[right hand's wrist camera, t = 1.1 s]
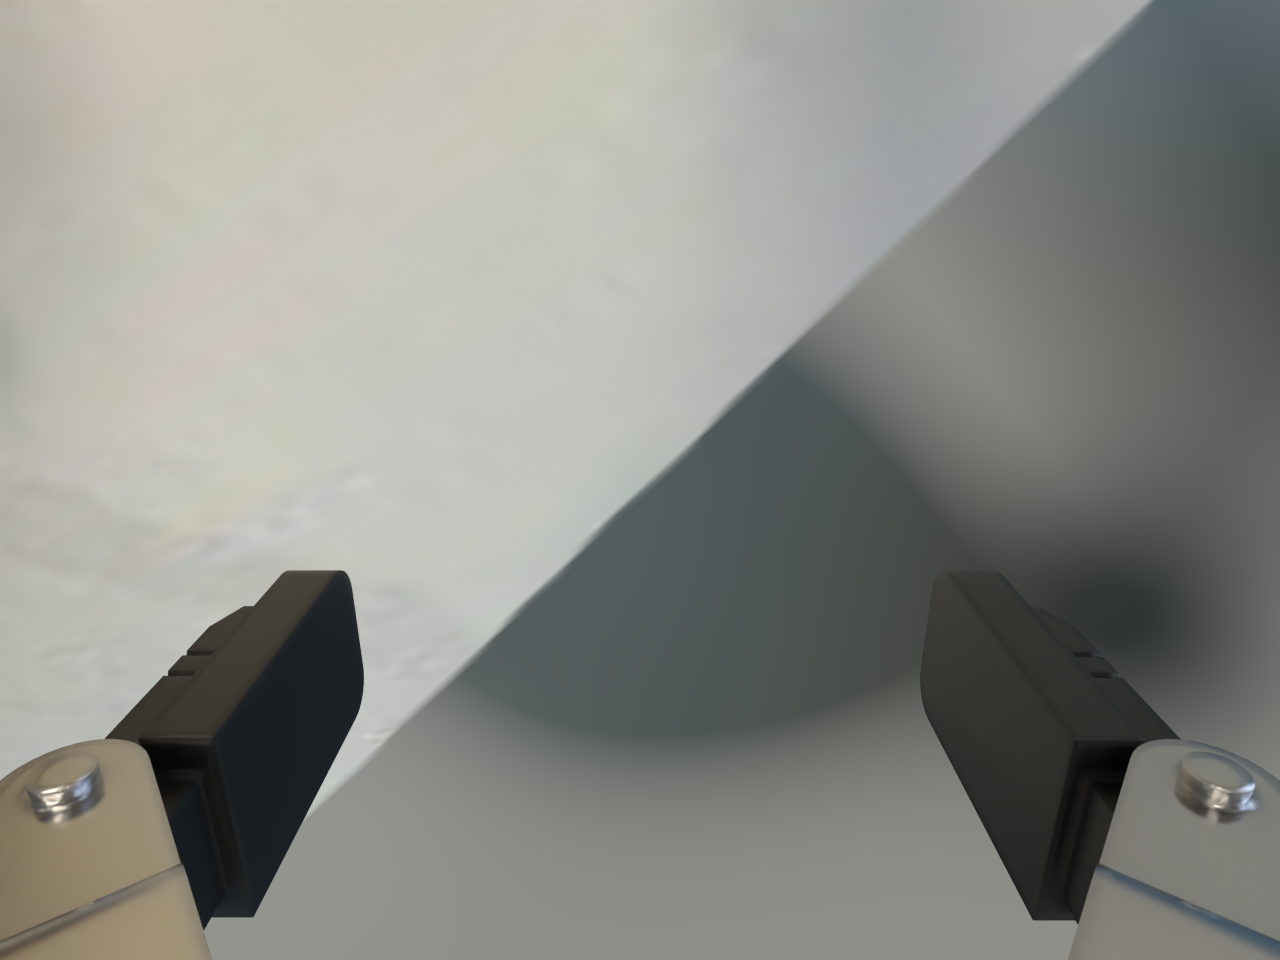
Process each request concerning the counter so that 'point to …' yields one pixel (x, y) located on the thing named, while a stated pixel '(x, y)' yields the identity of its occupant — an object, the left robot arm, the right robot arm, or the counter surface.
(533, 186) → the counter surface
